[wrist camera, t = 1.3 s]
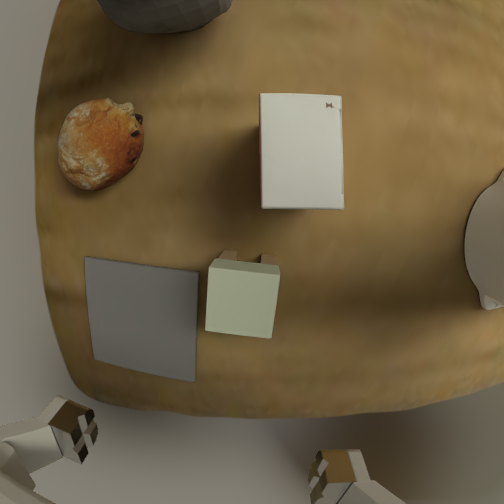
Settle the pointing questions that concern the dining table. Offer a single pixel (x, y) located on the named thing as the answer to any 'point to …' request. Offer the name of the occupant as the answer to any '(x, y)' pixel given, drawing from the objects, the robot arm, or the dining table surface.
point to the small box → (301, 151)
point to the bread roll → (99, 143)
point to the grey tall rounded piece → (163, 14)
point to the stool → (242, 295)
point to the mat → (143, 316)
